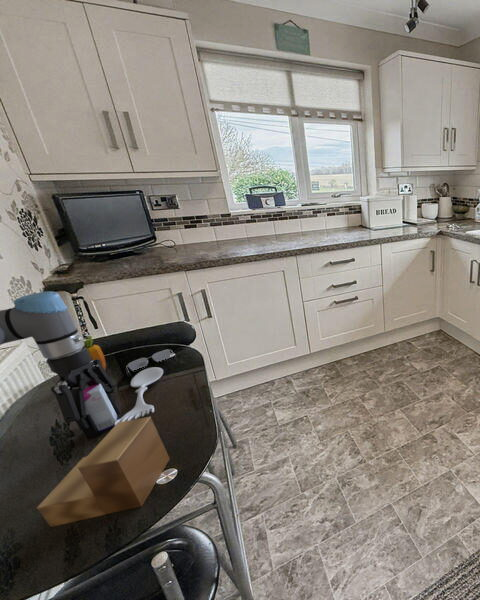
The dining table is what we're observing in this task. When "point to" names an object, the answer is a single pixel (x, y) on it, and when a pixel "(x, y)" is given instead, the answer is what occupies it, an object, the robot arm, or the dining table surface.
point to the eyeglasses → (143, 361)
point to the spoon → (141, 382)
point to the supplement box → (99, 407)
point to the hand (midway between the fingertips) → (104, 424)
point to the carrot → (95, 351)
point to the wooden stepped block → (110, 475)
